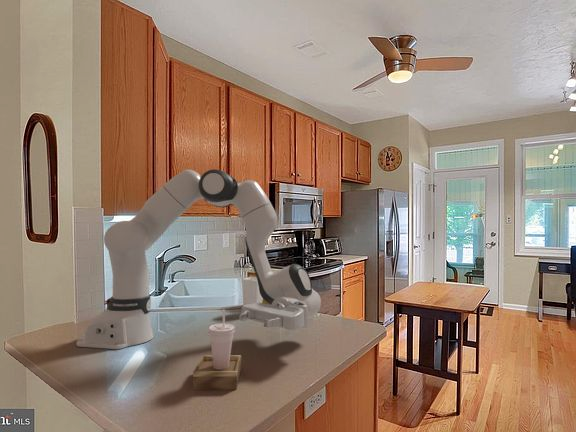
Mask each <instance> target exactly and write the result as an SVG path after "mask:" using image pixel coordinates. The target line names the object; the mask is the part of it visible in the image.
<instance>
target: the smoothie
mask: <svg viewBox="0 0 576 432" xmlns="http://www.w3.org/2000/svg"><path fill="white" fill-rule="evenodd" d="M235 328H236V327H235V325H233V324H231V323H226V309H222V323H215V324H212V325H210V326H209V327H208V334H209V336H210V344H211V345H210V346H211V356H213V366H214V368H215V369H218V370H222V369H226V368H228V367H229V361H230V355H232V353H231V352H232V347H233V338H234V333H235V331H236V329H235Z"/></svg>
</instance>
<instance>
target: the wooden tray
mask: <svg viewBox="0 0 576 432" xmlns="http://www.w3.org/2000/svg"><path fill="white" fill-rule="evenodd" d="M241 373H242V355H241V354H240V355H239V354H238V355H236V354H235V355H233V354H230V361H229V367H228V368H226V369H222V370H218V369H215V368H214V366H213V356H212V355H202V356H201V357H200V360H199V361H198V363H197V365H196V366H195V368H194V370H193V372H192V390H193V391H195V390H196V391H200V390H201V391H208V390H210V391H211V390H213V391H214V390H220V391H221V390H224V391H225V390H237V388H238V385H239V381H240V376H241Z"/></svg>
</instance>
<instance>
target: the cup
mask: <svg viewBox="0 0 576 432" xmlns="http://www.w3.org/2000/svg"><path fill="white" fill-rule="evenodd" d="M262 301H263V298H262V296H261V294H260V291H259V286H258V281H257V277H249V278H248V277H245V278H242V303H243V305H247V304H252V303H262Z"/></svg>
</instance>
